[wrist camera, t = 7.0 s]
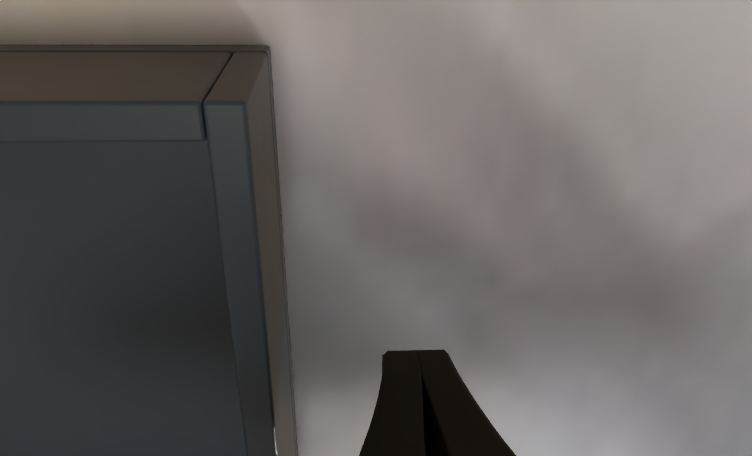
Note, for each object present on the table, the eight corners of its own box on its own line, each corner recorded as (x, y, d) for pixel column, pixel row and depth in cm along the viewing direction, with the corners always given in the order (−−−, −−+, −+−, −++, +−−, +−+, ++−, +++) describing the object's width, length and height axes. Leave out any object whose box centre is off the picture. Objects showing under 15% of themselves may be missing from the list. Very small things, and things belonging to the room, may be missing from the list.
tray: (270, 44, 11) (245, 101, 8) (303, 535, 18) (296, 659, 15) (-372, 43, 11) (-631, 103, 8) (-90, 548, 18) (-173, 679, 15)
